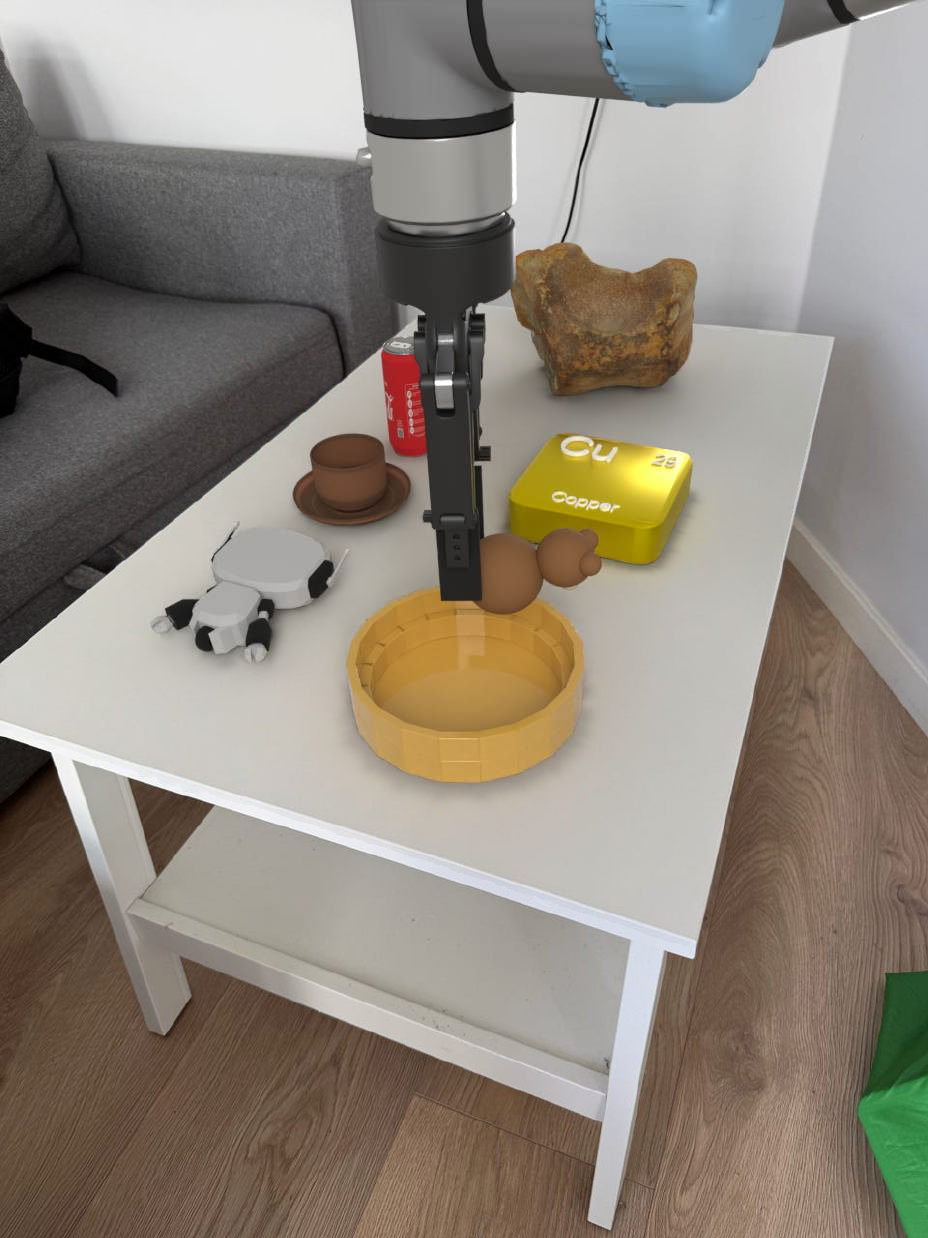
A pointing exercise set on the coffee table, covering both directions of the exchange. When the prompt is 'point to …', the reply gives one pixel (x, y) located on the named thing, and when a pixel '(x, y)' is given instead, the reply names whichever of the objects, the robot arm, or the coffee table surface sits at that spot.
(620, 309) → the rough brown rock
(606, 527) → the element tile
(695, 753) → the coffee table surface
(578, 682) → the ochre bowl
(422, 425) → the beverage can
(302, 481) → the cup and saucer
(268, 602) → the robot toy
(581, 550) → the plush bear
